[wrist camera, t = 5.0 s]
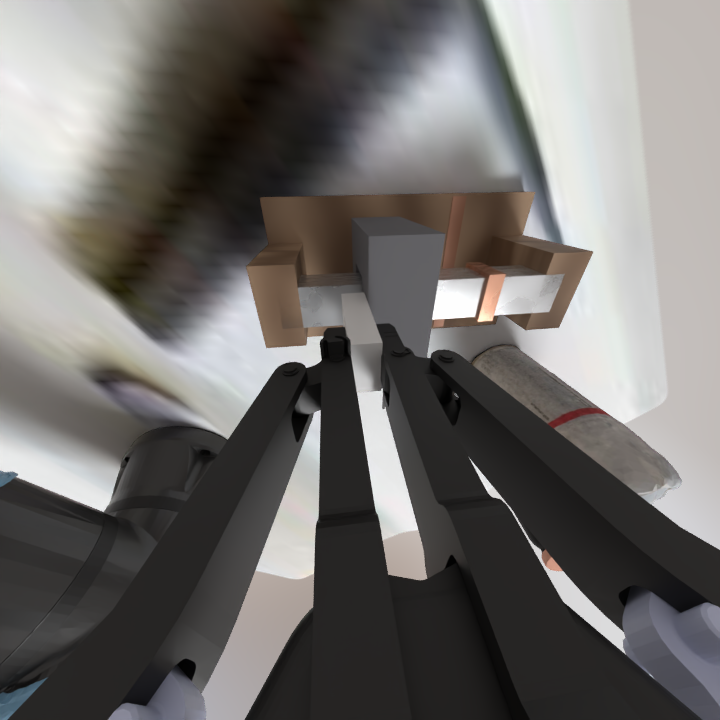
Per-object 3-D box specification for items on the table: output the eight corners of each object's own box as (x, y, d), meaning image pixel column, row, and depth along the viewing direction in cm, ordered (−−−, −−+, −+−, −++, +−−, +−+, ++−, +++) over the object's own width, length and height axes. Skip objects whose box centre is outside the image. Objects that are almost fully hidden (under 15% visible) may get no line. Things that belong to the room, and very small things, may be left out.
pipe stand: (288, 331, 30) (275, 384, 22) (263, 197, 22) (229, 201, 14) (488, 318, 32) (543, 362, 24) (524, 191, 24) (620, 193, 17)
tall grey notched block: (354, 327, 27) (368, 389, 19) (351, 217, 21) (368, 236, 13) (392, 325, 27) (422, 384, 19) (399, 216, 22) (445, 233, 13)
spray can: (481, 337, 33) (639, 487, 16) (536, 343, 35) (731, 485, 18) (457, 389, 37) (562, 547, 21) (506, 392, 39) (641, 542, 22)
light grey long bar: (288, 314, 22) (283, 334, 19) (281, 271, 20) (273, 285, 17) (522, 300, 24) (550, 316, 21) (536, 259, 22) (569, 271, 19)
